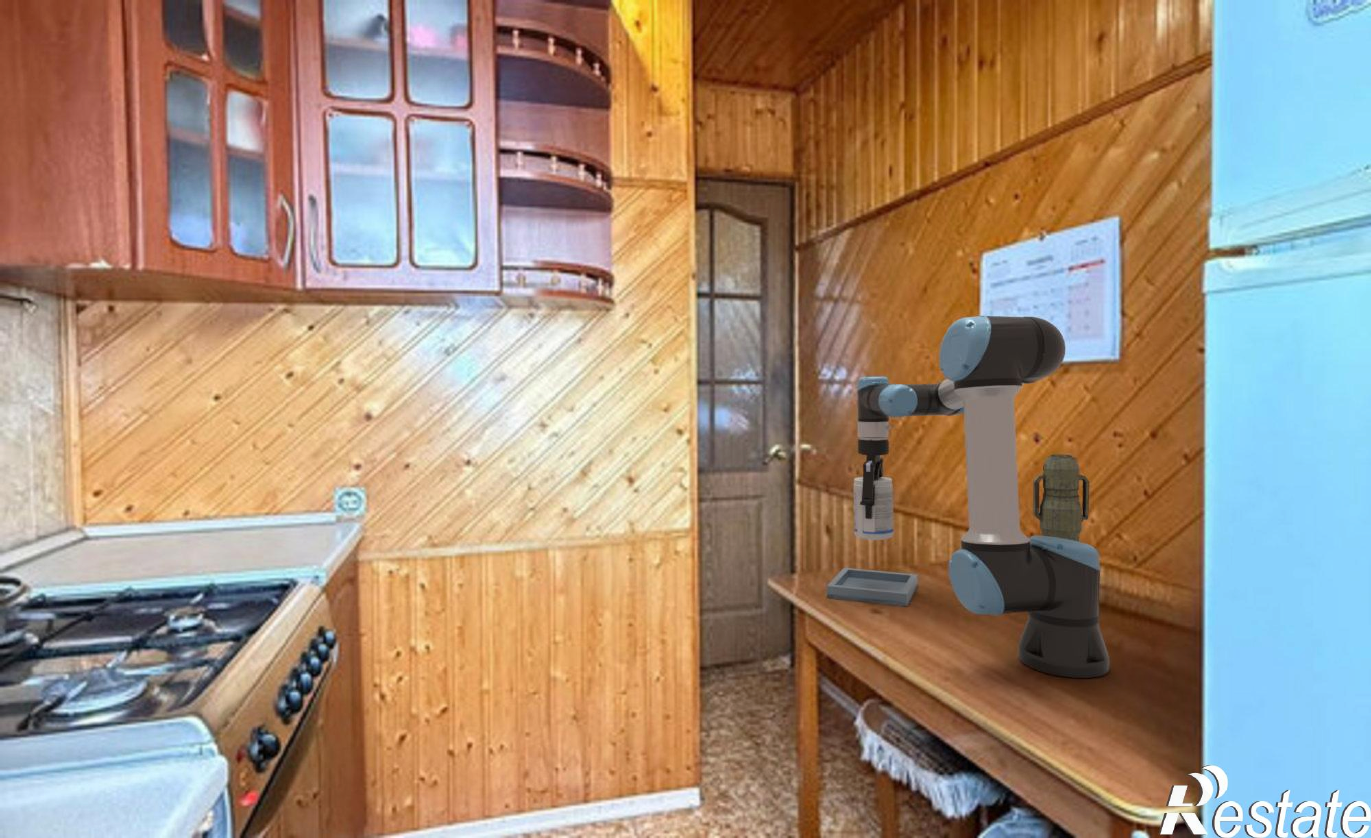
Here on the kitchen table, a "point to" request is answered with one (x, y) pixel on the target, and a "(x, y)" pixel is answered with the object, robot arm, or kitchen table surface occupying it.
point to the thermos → (1061, 498)
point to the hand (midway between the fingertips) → (873, 527)
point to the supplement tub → (881, 510)
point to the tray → (873, 586)
